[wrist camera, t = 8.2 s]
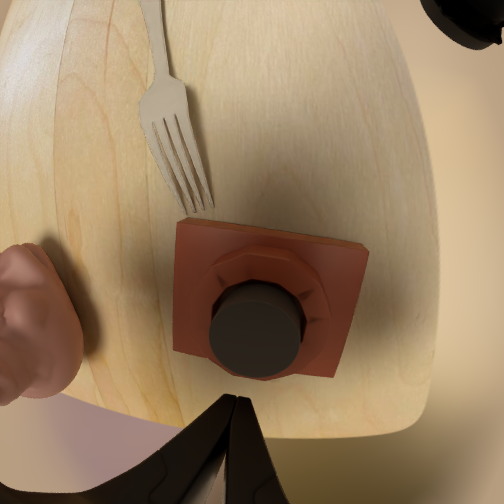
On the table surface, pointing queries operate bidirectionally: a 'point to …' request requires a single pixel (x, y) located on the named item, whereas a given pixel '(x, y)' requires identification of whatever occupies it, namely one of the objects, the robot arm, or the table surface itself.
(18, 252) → the figurine
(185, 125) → the fork
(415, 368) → the table surface
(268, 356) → the far button
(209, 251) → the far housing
